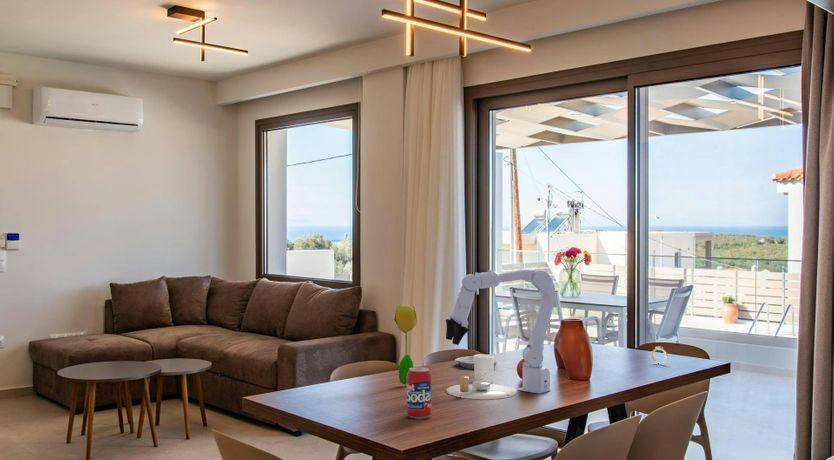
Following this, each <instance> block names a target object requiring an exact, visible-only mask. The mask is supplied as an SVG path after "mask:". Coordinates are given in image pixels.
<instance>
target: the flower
mask: <svg viewBox="0 0 834 460" xmlns="http://www.w3.org/2000/svg"><path fill="white" fill-rule="evenodd" d="M393 320H394V322H395V324H396V326H397V327H398V329H399V330H400V331H401V332H402V333H404V335H405V336H404V337H405V355H404V356H403V357H402V359H401V360H400V362H399V364H398V378H399V382H400V383H401V384H403V385H404V387H407V373H408V372H409V369H410V368H414V362H413V360H412V357H411V356H410V354H407V353H408V352H407V349H408V348H407V345H408V332H411V331H412V330H413V329H414V327H415V326H416V325H417V323H418V315H417V312H416V308H415V306H410V307H409V306H406V305H405V306H400V305H397V306H396V308H395V313H394V319H393Z"/></svg>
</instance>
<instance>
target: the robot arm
mask: <svg viewBox="0 0 834 460" xmlns="http://www.w3.org/2000/svg"><path fill="white" fill-rule="evenodd" d="M553 280H554V279H553V278H552V276H551V275H550V274H549V273H548V272H547V271H546V270H543V269H540V268H535V269H533V268H531V269H530V268H529V269H527V268H526V269H525V268H524V269H520V270H513V271H507V272H503V273H502V272H501V273H499V272H497V271H496V270H492V269H488V270H487V272H475V273H474V274H472V273H469V274H466V275H465V276H464V277H463V279H462V280H461V284H462V285H461V287H460V291H459V293H458V296H457V298H456V302H455V305H454V308H453V312H452V313H450V314H448V317H449V319H448V318H446V319H445V323H446V325H445V326H446V332H445V339H446V340H449V341H452V345H457V346H459V345H460V343H461V342H462V340H463V338H464V336H466V334H467V333H468V332H469V331H470V328H469V327H468V326H469V321H468V317H469V316H470V315H469V314H470V313H471V308H472V307H473V302H474V300H475V294H476V291H477V290H478V289H480V290H481V289H489V288H495V287H498V286H499V284H500V283H505V282H514V281H524V282H527V283H530V284H531V285H532V286H534V287H535V288H536V289H537V290H538V292H539V294H540V295H541V300H540V304H539V307H538V311H537V314H536V317H535V322H534V325H533V327H532V332H531V335H530V338H529V339H528V342H527V345H526V347H524V349H522V354H521V355H522V358H523V360H524V362H523V363H522V387H519V388H517V390H518V391H523V392H527V393H528V392H529V393H535V394H543V393H546V392H550V391H551V390H552V389H551V383H550V382H551V379H550V378H551V373H550V370H549V368H547V367H544V366H543V361H544V353H543V351H544V341H545V338H546V335H547V331H548V327H549V324H550V320H551V318H552V314H553V312H554V311H553V310H554V306H555V304H556V303H555V302H556V301H557V300H556V299H557V292H556V287H555V285H554V281H553Z"/></svg>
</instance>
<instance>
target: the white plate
mask: <svg viewBox="0 0 834 460" xmlns="http://www.w3.org/2000/svg"><path fill="white" fill-rule="evenodd" d="M472 385H473V383H469V388H470V387H472ZM446 393H447V394H448V395H450V396H452V395H453V397H456V398H460V397H461V399H468V400H482V401H483V400H484V401H485V400H486V401H488V400H501V399H502V400H503V399H507V398H512V397H514V396H516V394H517V390H516V389H515V388H513V387H510V386H506V385H501V384H495V383H490V389H489V390H473V391H469V392H465V393H463V392H460V384H456V385H452V386H449V387H447V388H446Z"/></svg>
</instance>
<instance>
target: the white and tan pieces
mask: <svg viewBox="0 0 834 460" xmlns="http://www.w3.org/2000/svg"><path fill="white" fill-rule="evenodd" d="M469 378H470V377H469V376H467V375H461V376H460V377H459V385H460V392H463V393H465V392H469V391H473V390H489V389H490V384H491V383H490V382H487V381H475V380H474V381H473V382H472V384H473V385H472V387H470V388H469V384H470V383H469V381H470V379H469Z"/></svg>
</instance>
